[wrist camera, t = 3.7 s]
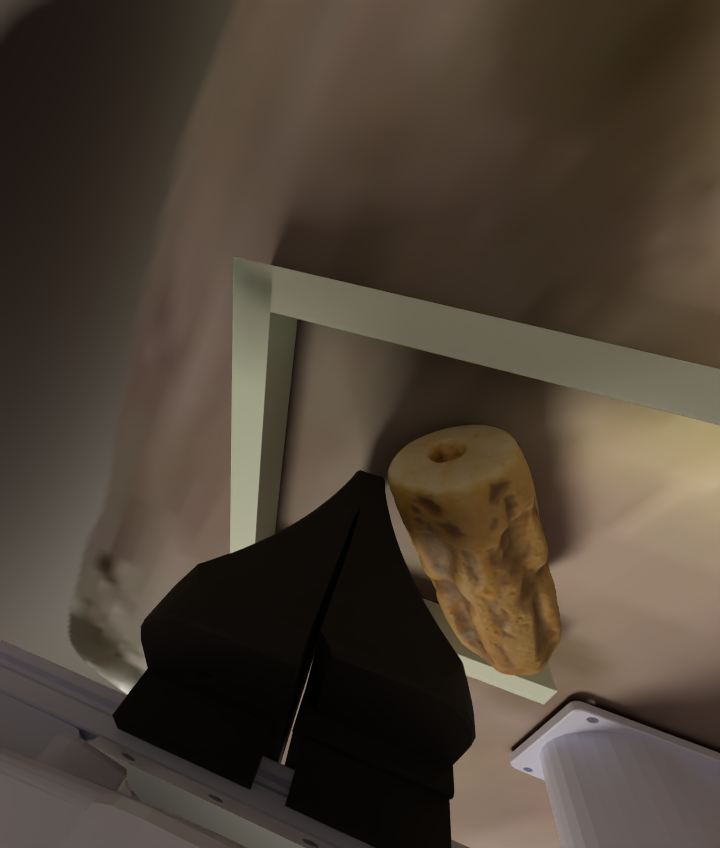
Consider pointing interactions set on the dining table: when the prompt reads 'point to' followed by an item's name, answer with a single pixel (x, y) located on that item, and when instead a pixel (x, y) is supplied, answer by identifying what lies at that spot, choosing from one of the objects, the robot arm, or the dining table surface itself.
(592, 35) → the dining table surface
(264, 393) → the pale grey flat frame
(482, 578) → the carved stone cylinder
